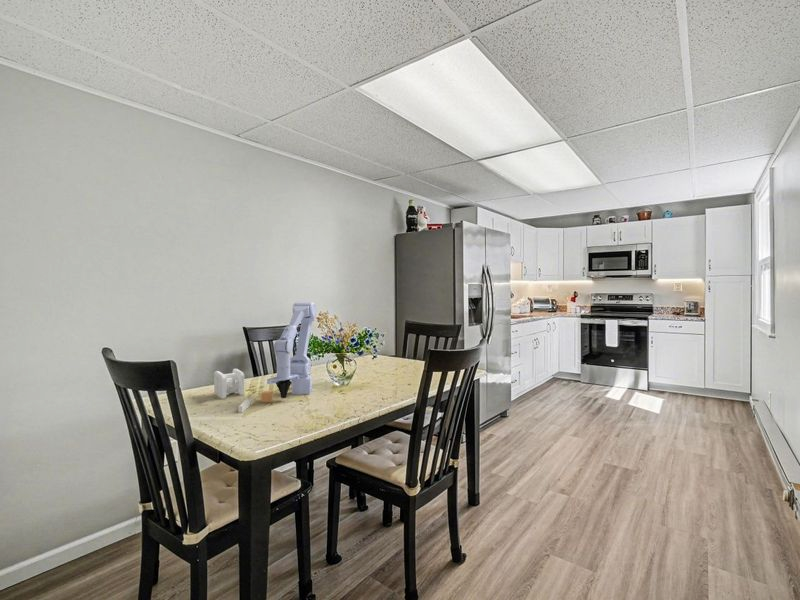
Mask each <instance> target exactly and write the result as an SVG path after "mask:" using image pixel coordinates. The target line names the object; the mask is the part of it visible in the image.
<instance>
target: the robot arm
mask: <svg viewBox="0 0 800 600" xmlns="http://www.w3.org/2000/svg"><path fill="white" fill-rule="evenodd" d="M316 315H317V306H316V303H315V302H314V301H313V302H306V301H305V302H300V301H299V302H298V301H295V302H294V303H293V304H292V317H291V319H290V321H289V325H286V326H285V327H284V329H283V331H282V333H281V335H280V338H279V339H277V340H275V342H274V345H273V350H274V353H275V354H274V355H275V356H276V357H275V358H276V376H274V377H270V378H267V380H266V381H267V384H268V385H272V384H275V385H276V386H277V388H278V391H279V394H280V398H281V399H286V398H287V395H288V391H289V389H290V387H291V392H290V393H291V394H292V395H300V396H301V395H312V392H313V377H312V375H310V374H311V371H312V360H311V358H309V356H308V355H307V354H308V349H309V344H310V337H311V331H312V325H313V322H314V321H315V320H316ZM299 325H300V330H299V335H298V340H297V346H296V351H295V354H294V355H293V356H291V352H292V351H293V350H294V349H293V348H294V341H295V337H296V336H297V334H298V330H297V328H298V326H299Z"/></svg>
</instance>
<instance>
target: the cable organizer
mask: <svg viewBox="0 0 800 600" xmlns="http://www.w3.org/2000/svg"><path fill="white" fill-rule="evenodd" d="M213 378H214V379H213V382H214V383H213V384H214V386H213V388H214V389H213V390H214V394H215V396H218V397H219V398H220V399H221V400H223V399H224V400H225V399H227V396H228V397H229V395H230V394H234V395H239V396H244V395H245V373H244V372H243V371H241V370H240V369H238V368H233V369H232V372H231V373H223V372H221V371H219V370H216V371H214V372H213Z"/></svg>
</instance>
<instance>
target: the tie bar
mask: <svg viewBox="0 0 800 600" xmlns="http://www.w3.org/2000/svg"><path fill="white" fill-rule="evenodd" d="M252 405H254V398H253V397H246V398H245V400H244V401H243V402H242V403H240V404H239V405H238V409H237V410H238V412H237V413H244V412H245V411H246V410H247V409H248V408H249V407H250V406H252Z"/></svg>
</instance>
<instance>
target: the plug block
mask: <svg viewBox="0 0 800 600" xmlns="http://www.w3.org/2000/svg"><path fill="white" fill-rule="evenodd" d="M260 395H261V403H271V402H273V400H274V390H264V391H262V392H261V394H260Z"/></svg>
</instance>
